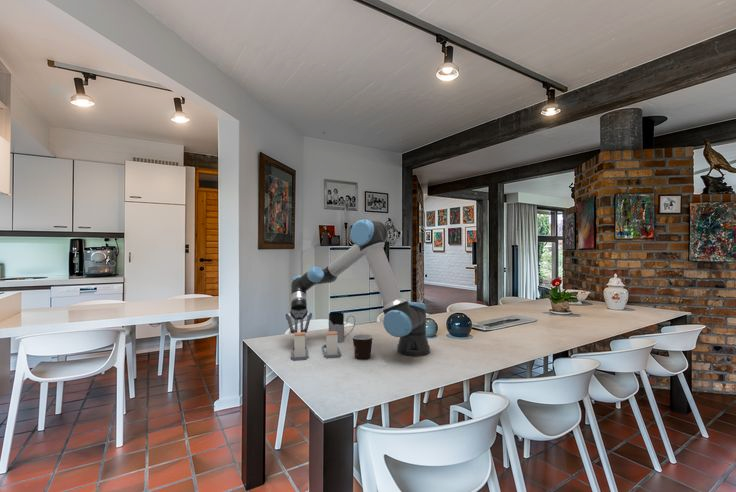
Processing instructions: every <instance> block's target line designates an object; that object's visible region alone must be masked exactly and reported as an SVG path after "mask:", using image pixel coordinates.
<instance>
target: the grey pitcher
mask: <svg viewBox="0 0 736 492" xmlns="http://www.w3.org/2000/svg"><path fill="white" fill-rule="evenodd" d="M350 317H352V318H353V319H354V320H356V317H355V315H348V316H347V318H346V323H344V322H345V321H344V320H345V313H344V312H330V313H328V332H331V331H337V333H338V344H342V343H344V342H345V339H346V337H347V336H348V335H350V333H351V332H353V330H354V328H355V326H356V321H354V323H353V326H352V328H351V329H350V331H349V332H348V333H346V335H345V325H348V320H349V318H350Z"/></svg>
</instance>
